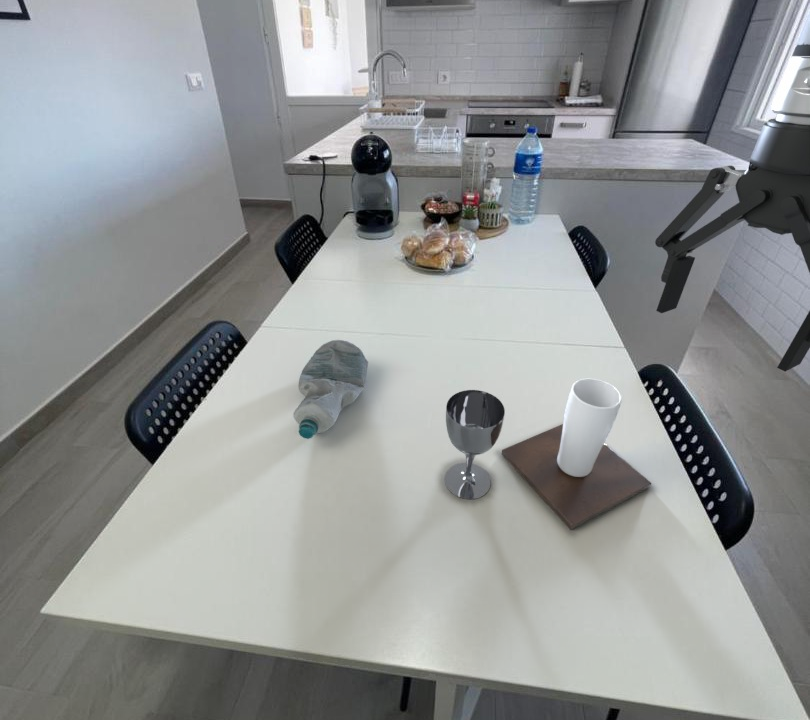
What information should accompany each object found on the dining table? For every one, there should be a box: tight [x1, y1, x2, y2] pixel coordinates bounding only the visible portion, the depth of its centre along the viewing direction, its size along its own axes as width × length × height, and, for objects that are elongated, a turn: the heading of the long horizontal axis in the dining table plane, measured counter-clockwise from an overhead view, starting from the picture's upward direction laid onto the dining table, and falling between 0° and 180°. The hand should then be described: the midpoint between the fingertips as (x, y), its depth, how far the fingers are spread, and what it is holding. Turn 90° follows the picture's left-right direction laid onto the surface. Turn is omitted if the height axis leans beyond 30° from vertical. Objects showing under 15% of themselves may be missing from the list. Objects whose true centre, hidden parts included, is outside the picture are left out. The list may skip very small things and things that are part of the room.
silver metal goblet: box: [444, 389, 506, 500], centre depth 65 cm, size 8×8×15 cm
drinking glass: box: [557, 378, 623, 477], centre depth 66 cm, size 7×7×15 cm
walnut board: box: [501, 423, 652, 531], centre depth 71 cm, size 16×16×1 cm
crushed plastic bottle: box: [292, 339, 369, 439], centre depth 83 cm, size 13×7×25 cm
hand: (721, 335), depth 50 cm, fingers open, 13 cm apart
